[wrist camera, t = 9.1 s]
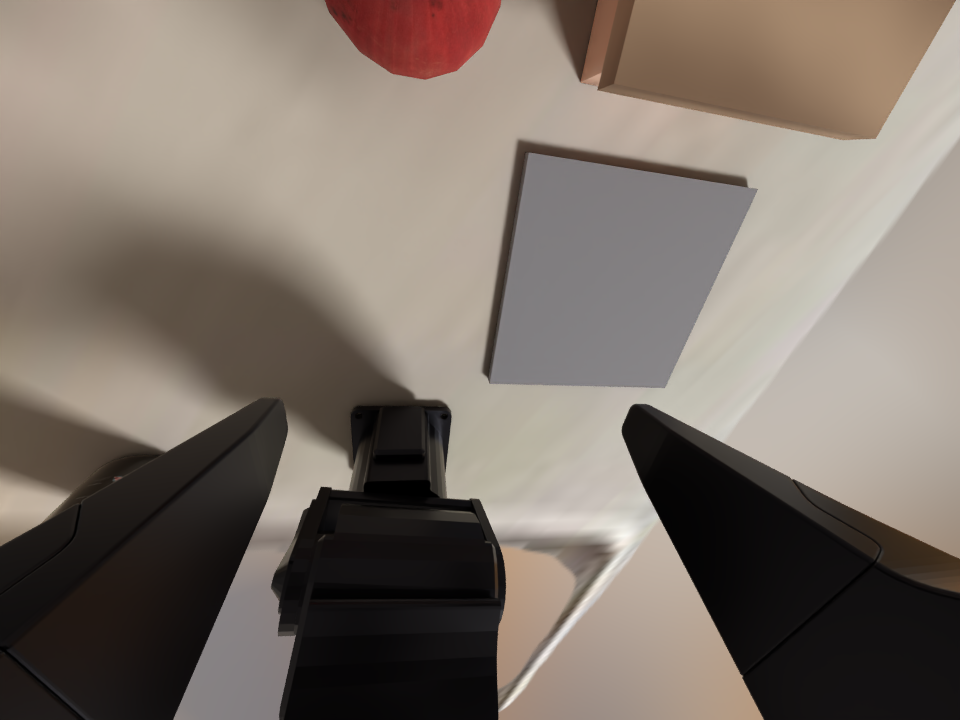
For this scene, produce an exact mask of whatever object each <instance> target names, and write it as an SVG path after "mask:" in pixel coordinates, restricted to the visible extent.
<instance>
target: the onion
mask: <svg viewBox="0 0 960 720" xmlns="http://www.w3.org/2000/svg"><path fill="white" fill-rule="evenodd" d="M325 2H326V5H327V8H328V10H329V13H330V14H331V15H332V17H333V18H334V19H335V20H336V22H337V23H338V24H339V26H340V27H341V28H342V29H343V31H344V32H345V33H346V35H347V36H348V37H349V38H350V40H351V41H352V42H353V44H354V45H355V46H356V47H357V49H358V50H359V51H360V52H361V53H362V54H364V55H365V56H367V57H368V58H370V59H371V60H373V61H374V62H376V63H377V64H379V65H380V66H382V67H383V68H385V69H386V70H387V71H389V72H390V73H392V74H396V75H402V76H408V77H413V78H419V79H424V80H425V79H429V78H432V77H436V76H440V75H443V74H447V73H450V72H454V71H457V70H458V69H459V68H460V67H461V66H462V65H463V64H464V63H465V62H466V61H467V60H468V59H469V58H470V57H471V56H472V55H474V54H475V53H476V52H477V51H478V50H479V49H480V48H481V47H482V46H483V44H484V42H485V40H486V38H487V35H488V33H489V31H490V29H491V26H492V24H493V22H494V20H495V17H496V15H497V13H498V11H499V8H500V5H501V0H325Z"/></svg>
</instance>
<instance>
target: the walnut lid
mask: <svg viewBox="0 0 960 720" xmlns="http://www.w3.org/2000/svg"><path fill="white" fill-rule="evenodd" d="M955 1H956V0H618V4H617V9H616V13H615V17H614V22H613V26H612V30H611V34H610V39H609V43H608V47H607V52H606V56H605V60H604V64H603V69H602V73H601V77H600V81H599V86H598V90H599V91H604V92H609V93H614V94H618V95H623V96H628V97H633V98H638V99H643V100H648V101H653V102H658V103H663V104H668V105H673V106H678V107H683V108H687V109H692V110H697V111H702V112H707V113H712V114H717V115H722V116H727V117H732V118H737V119H742V120H747V121H752V122H756V123H761V124H766V125H771V126H776V127H781V128H786V129H791V130H796V131H801V132H806V133H811V134H816V135H821V136H825V137H830V138H835V139H840V140H853V139H876V137H877V135H878V134H879V132H880V130H881V128H882V127H883V125H884V123H885V122H886V120H887V118H888V116H889V115H890V113H891V111H892V109H893V108H894V106H895V104H896V103H897V101H898V99H899V97H900V96H901V94H902V92H903V91H904V89H905V87H906V85H907V84H908V82H909V80H910V78H911V77H912V75H913V73H914V72H915V70H916V68H917V66H918V65H919V63H920V61H921V59H922V58H923V56H924V54H925V53H926V51H927V49H928V47H929V46H930V44H931V42H932V41H933V39H934V37H935V35H936V34H937V32H938V30H939V28H940V27H941V25H942V23H943V22H944V20H945V18H946V16H947V15H948V13H949V11H950V9H951V8H952V6H953V4H954V3H955Z"/></svg>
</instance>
